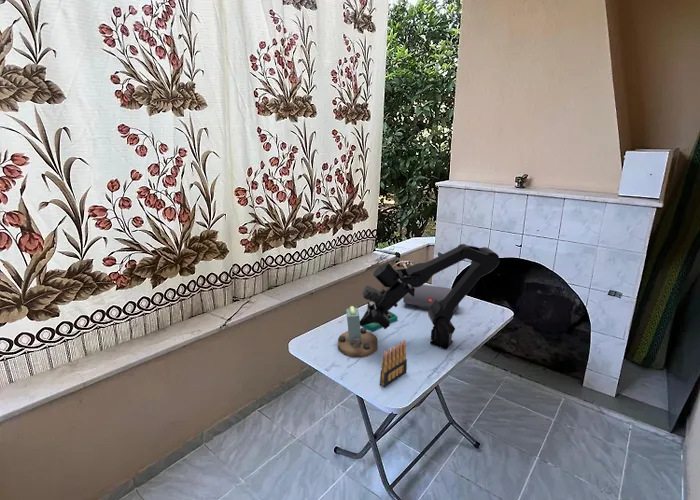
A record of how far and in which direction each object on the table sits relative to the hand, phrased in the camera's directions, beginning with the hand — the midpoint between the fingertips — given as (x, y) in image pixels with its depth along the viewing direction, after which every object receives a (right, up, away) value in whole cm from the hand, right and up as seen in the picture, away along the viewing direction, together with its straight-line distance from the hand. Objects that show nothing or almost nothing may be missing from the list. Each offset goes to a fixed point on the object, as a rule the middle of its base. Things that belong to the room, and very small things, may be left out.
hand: (359, 324), depth 131 cm
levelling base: (-2, -8, +2) cm, 9 cm away
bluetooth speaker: (+31, +1, +32) cm, 45 cm away
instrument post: (-2, -6, +2) cm, 6 cm away
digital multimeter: (+8, -4, +19) cm, 21 cm away
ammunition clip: (+10, -14, -15) cm, 23 cm away
